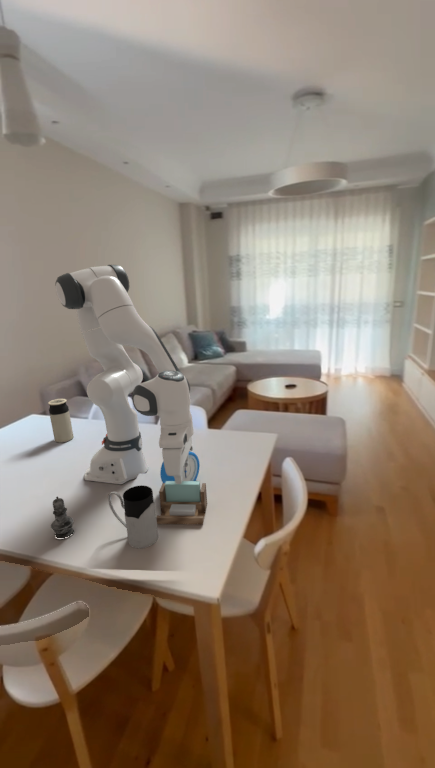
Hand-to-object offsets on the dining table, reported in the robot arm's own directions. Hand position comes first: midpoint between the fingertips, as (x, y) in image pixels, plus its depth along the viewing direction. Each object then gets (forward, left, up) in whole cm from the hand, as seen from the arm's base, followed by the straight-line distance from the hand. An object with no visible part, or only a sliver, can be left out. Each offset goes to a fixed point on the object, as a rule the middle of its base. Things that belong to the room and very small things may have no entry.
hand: (182, 473), depth 109 cm
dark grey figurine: (-33, -10, -13) cm, 37 cm away
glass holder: (-12, -12, -13) cm, 21 cm away
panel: (0, 0, -12) cm, 12 cm away
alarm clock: (-4, +14, -13) cm, 20 cm away
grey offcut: (0, -4, -10) cm, 11 cm away
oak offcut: (0, -4, -12) cm, 12 cm away
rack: (0, -2, -13) cm, 13 cm away
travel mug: (-65, +53, -13) cm, 85 cm away
